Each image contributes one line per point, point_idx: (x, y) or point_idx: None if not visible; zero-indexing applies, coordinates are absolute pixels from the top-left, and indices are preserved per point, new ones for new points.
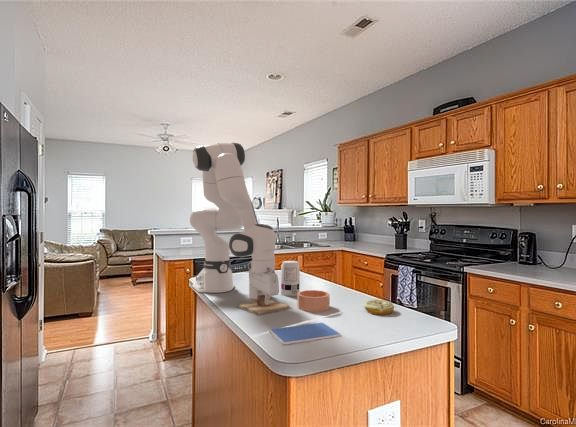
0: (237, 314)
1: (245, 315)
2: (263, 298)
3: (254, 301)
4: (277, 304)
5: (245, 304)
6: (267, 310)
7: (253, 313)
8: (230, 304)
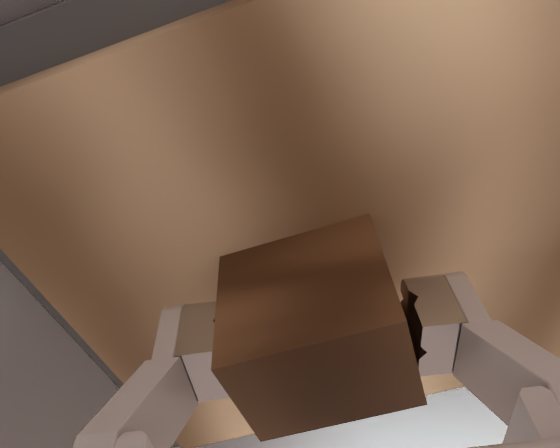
0: (373, 433)
1: (434, 400)
2: (422, 391)
3: (82, 326)
4: (364, 82)
5: (203, 409)
6: (558, 287)
7: None
8: (40, 443)
